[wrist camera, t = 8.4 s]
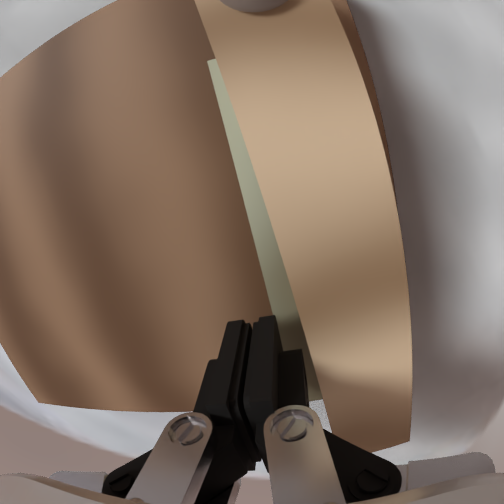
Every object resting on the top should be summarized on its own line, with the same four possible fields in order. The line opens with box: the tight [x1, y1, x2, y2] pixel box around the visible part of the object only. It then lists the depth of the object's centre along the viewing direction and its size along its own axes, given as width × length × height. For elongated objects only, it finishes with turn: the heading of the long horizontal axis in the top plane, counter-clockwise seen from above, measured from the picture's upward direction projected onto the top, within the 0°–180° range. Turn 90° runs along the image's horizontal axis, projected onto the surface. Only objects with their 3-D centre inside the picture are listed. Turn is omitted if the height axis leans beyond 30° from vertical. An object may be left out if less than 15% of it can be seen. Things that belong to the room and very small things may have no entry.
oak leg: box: [194, 0, 412, 453], centre depth 9 cm, size 17×3×3 cm, turn 18°
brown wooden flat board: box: [0, 0, 398, 412], centre depth 12 cm, size 22×18×3 cm
